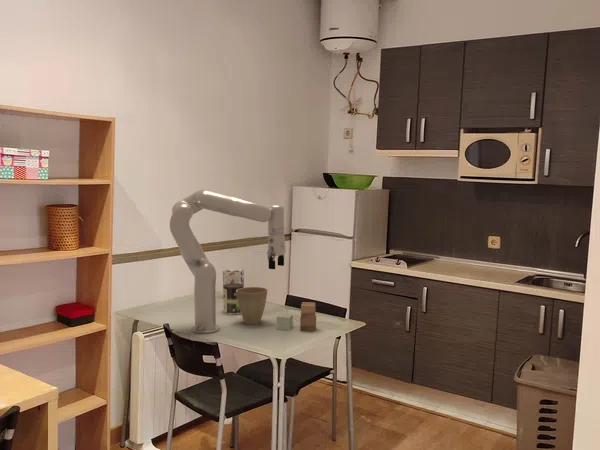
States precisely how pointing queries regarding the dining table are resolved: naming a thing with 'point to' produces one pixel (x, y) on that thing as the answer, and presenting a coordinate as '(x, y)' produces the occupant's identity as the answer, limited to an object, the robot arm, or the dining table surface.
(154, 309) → the dining table surface
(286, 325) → the sage block
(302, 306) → the tower block
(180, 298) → the dining table surface
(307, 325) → the tower base block
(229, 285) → the coffee can
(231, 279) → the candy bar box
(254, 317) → the plant pot
